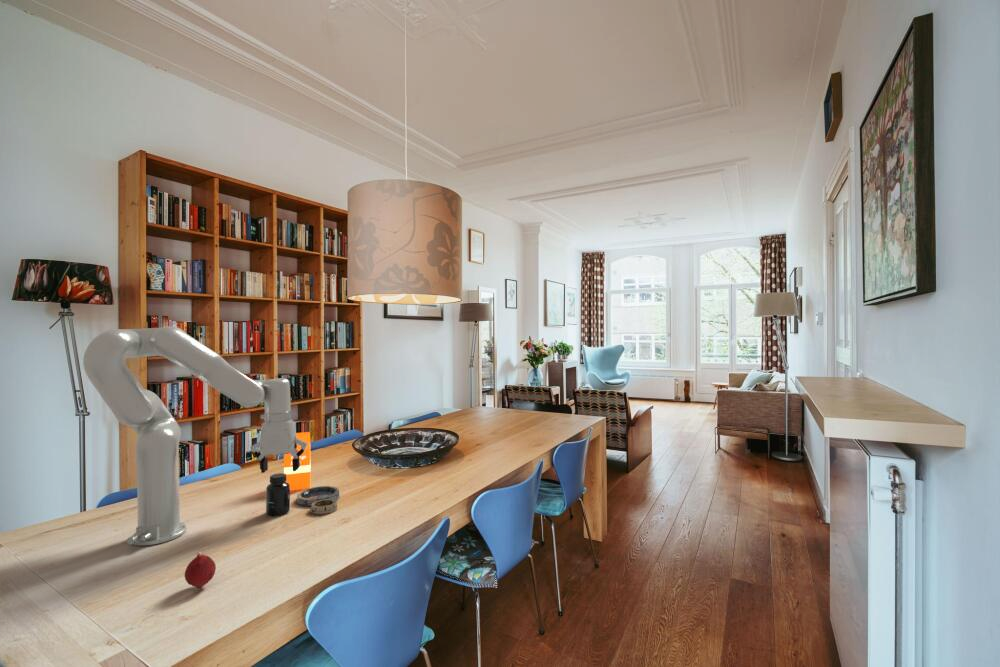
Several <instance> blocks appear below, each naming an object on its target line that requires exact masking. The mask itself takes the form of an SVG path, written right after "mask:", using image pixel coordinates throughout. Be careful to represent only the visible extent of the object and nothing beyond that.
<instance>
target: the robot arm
mask: <svg viewBox="0 0 1000 667" xmlns="http://www.w3.org/2000/svg"><path fill="white" fill-rule="evenodd" d="M159 356H161V357H164V358H165V359H167V360H168V361H170V362H171V363H174V364H175V365H177V366H178V367H179V368H182V369H184V370H185V371H186V372H188V373H189V374H191V375H193V376H194V377H196V378H198V380H200V381H201V382H203V383H205V384H207V385H209V386H210V387H211V388H212V389H215V390H216V391H218V392H219V393H221V394H222V395H224V396H226V397H227V398H228V399H231V400H232V401H234V402H235V403H237V404H239V405H241V406H242V407H246V408H254V407H257V406H258V405H260V404H261V403H262V402H264V404H263V405H264V413H263V414H260V417H259V418H260V420H261V419H262V420H264V422H262V423H261V429H260V438H259V441H258V442H257V443H255V444H253V445H251V446H250V450H251V451H252V453H253V455H254V456H255V457H256V458H257V460H258V461H259V470H260V471H261V472H260V473H261V474H264V473H265V472H267V471H268V470H269V468H268V467H269V466H268V464H269V462H268V461H269V459H268V457H267V456H273V455H274V456H275V455H277V456H278V455H284V454H289V453H290V454H291V455H292V456H293V457H294V459H292V464H293V471H296V470H297V469H298V468H299V467H300V456H301V454H302V453H303V452H304V451H305V449H306V447H307V445H308V443H306V442H304V441H302V440H299V439H297V436H296V433H297V431H296V425H295V421H294V420H293V419H292V411H291V410H292V407H291V405H292V404H291V402H292V401H291V383H290V380H289V379H287V378H280V377H278V378H271V379H270V378H269V379H252V378H250V377H248V376H247V375H245V374H243V373H242V372H240V371H239V370H237V369H236V368H235V367H234V366H232V365H231V364H230V363H229V362H228V361H226V360H225V359H224V358H223V357H222V356H221V355H220V354H218V353H217V352H215V351H214V350H212V349H211V348H209V347H207V346H206V345H205V344H203V343H201V342H200V341H199V340H197V339H195V338H194V337H192V335H189V334H188V333H187V332H185V330H183V329H181V328H180V327H178V326H172V325H166V326H161V327H150V328H147V327H146V328H125V329H124V328H123V329H120V328H113V329H112V328H111V329H108V330H105V331H103V332H101V333H99V334H98V335H97V336H95V337H94V338H93V339H91V341H90V343H89V344H88V345H87V347H86V349H85V351H84V355H83V358H82V360H83V361H82V362H83V363H82V365H83V370H84V372H85V374H86V376H87V378H88V380H89V381H90V382H91V384H92V385H93V387H94V388H95V390H96V391H97V393H98V394H99V395H100V397H101V399H102V400H103V402H104V403H105V404H106V406H107V407H108V408H109V409H110V411H111V413H112V414H113V415H114V417H115V419H116V420H117V421H118V422H119V423H120V424H122V425H124V426H127V427H131V428H132V429H133V431H135V433H136V434H137V435H138V437H137V439H136V442H135V448H134V449H135V450H134V451H135V463H136V485H137V489H136V490H137V492H136V493H137V496H136V497H137V526H136V527H135V532H134V533H133V534H132V535H131V536H129V537H128V538H127V539H126V544H128V545H134V546H142V547H143V546H152V545H158V544H162V543H166V542H169V541H172V540H174V539H177V538H179V537H181V536H182V535H183V534H184V533H186V531H187V525H186V524H185V523H182V522H180V521H181V520H180V518H181V517H180V516H181V515H180V513H181V512H180V510H181V509H180V506H181V505H180V503H181V502H180V455H179V454H180V452H179V451H180V450H179V447H180V440H181V436H182V429H181V427H180V425H179V423H178V422H177V421H176V419H175V418H174V416H173V415H172V414H171V412H170V411H169V410H168V408H167V407H166V405H165V404H164V402H163V401H162V400H161V398H160V397H159V396H158V395H157V394H156V393H155V392H153V391H151V390H149V389H145V388H144V387H143V386H142V385H141V383H140V382H139V381H138V379H137V378H136V376H135V374H134V373H133V371H131V370H130V368H129V367H128V365H127V359H133V358H134V359H135V358H147V357H149V358H150V357H159ZM297 444H298V445H300V446H301V449H300V451H298V450H297Z"/></svg>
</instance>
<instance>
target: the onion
mask: <svg viewBox="0 0 1000 667" xmlns="http://www.w3.org/2000/svg"><path fill="white" fill-rule="evenodd" d="M216 567H217V566H216V563H215V561H214V560H213V558H211V557H210V556H209V555H206V554H203V553H202V552H201V551H198V552H197V554H196V556H195V557H194V558H193V559H192V560H191V561H190V562H189V563H188V564H187V566H186V569H185V570H184V571H185V572H184V579H185V581H186V582H187V584H188V585H191V586H192V587H194V588H197V589H201V588H203V587H204V586H205V585H207V584H208V583H209V582H210V581H211V580H212V579H213V578H214V577H215V576H214V575H215V573H216Z"/></svg>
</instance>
